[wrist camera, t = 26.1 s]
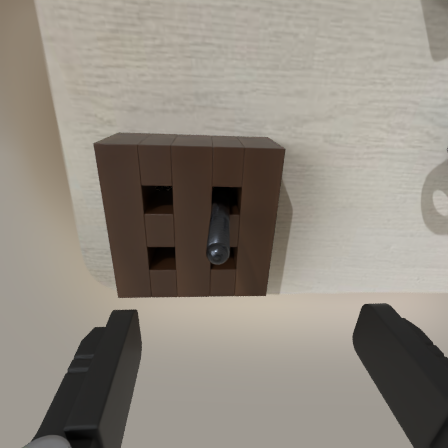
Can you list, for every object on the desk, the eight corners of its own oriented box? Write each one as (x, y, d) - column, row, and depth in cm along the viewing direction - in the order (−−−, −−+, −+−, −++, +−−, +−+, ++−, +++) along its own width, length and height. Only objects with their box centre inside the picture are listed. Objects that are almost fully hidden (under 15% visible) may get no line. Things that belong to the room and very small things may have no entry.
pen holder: (133, 261, 30) (118, 298, 25) (118, 132, 24) (93, 143, 19) (255, 261, 31) (266, 296, 26) (268, 137, 25) (285, 148, 20)
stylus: (214, 186, 27) (204, 269, 16) (215, 172, 26) (205, 249, 15) (229, 187, 27) (229, 270, 16) (229, 173, 26) (230, 250, 15)
